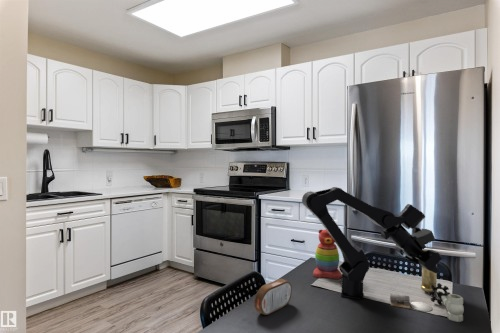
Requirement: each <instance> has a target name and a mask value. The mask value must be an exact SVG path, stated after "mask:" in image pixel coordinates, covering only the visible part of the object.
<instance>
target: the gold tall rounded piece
mask: <svg viewBox="0 0 500 333" xmlns="http://www.w3.org/2000/svg"><path fill="white" fill-rule="evenodd" d="M422 250H423V251H427V250H428V249H422ZM436 266H437V267H438V264H437V265H436ZM437 274H438V273H437ZM437 274H436V273H434V272H432V271H429V270H427V269H425V268H423V267H421V284H420V289H421V290H422V291H425V292H427V293H428V292H429V291H431V292H432V289H431V286H432V285H433V286H434V287H437V284H438V283H437V282H438V281H437V278H438V277H437V276H438V275H437ZM436 292H438V289H437V290H436Z"/></svg>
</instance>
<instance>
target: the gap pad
mask: <svg viewBox="0 0 500 333" xmlns="http://www.w3.org/2000/svg"><path fill="white" fill-rule="evenodd" d="M409 305H410V308H412V309H413V310H416V311H420V312H431V311H432V310H433V307H432V306H431V305H430V304H428V303H426V302H421V301H412V302H409Z"/></svg>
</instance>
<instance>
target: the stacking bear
mask: <svg viewBox="0 0 500 333" xmlns="http://www.w3.org/2000/svg"><path fill="white" fill-rule="evenodd" d="M318 240H319V242H320V243H318V245H317V246H316V249H315V255H314V256H315V258H314V259H315V263H316V268H315V269H314V270H313V272H312V275H313V277H314V278H320V279H321V278H329V279H334V280H340V279H342V272H341V271H340V269H339V264H340V252H339V250H338V246H337V244H336V243H335V241H334V240H333V239H332V237H331V236H330V234H329V233H328V232H327V230H326V229H319V230H318Z"/></svg>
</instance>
